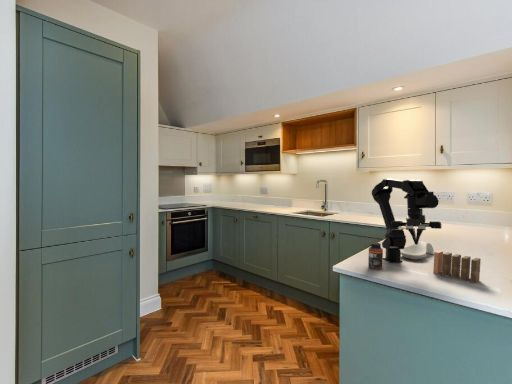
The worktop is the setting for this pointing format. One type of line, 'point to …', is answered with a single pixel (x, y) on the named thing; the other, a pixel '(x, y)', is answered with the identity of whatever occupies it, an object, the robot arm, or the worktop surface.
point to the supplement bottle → (375, 256)
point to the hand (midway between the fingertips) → (416, 244)
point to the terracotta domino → (438, 262)
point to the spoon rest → (417, 250)
